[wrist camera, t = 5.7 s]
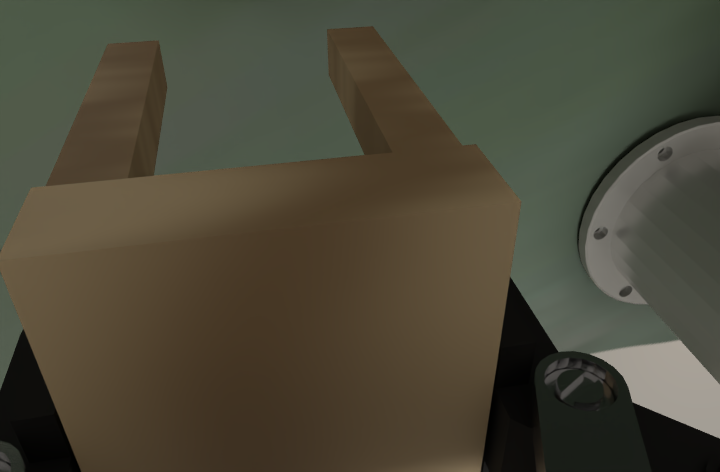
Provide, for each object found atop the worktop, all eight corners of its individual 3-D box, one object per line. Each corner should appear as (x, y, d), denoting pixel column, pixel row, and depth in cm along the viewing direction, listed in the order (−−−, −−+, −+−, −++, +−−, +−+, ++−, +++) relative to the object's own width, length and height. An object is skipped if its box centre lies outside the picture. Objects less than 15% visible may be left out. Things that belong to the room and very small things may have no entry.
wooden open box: (372, 14, 14) (521, 201, 7) (372, 303, 18) (464, 580, 12) (105, 31, 13) (-4, 260, 6) (173, 329, 17) (151, 645, 11)
